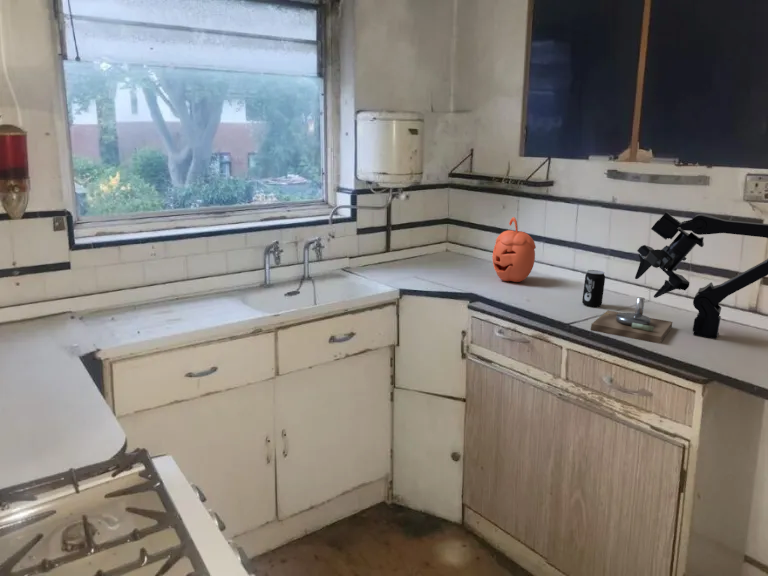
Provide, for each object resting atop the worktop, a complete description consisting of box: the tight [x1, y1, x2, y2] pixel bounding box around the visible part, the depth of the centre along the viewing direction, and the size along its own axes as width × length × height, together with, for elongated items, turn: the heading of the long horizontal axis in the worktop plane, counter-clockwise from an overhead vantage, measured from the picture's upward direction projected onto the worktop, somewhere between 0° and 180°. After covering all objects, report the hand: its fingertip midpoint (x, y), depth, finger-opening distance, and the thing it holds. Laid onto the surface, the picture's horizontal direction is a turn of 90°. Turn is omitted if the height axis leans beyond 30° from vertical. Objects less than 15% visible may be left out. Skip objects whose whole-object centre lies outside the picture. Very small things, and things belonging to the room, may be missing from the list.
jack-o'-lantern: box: [491, 216, 537, 283], centre depth 266 cm, size 18×17×25 cm
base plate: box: [590, 310, 673, 344], centre depth 210 cm, size 20×20×4 cm
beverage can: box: [582, 269, 606, 308], centre depth 235 cm, size 7×7×12 cm
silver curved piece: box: [616, 296, 651, 326], centre depth 211 cm, size 14×10×6 cm
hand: (645, 287), depth 214 cm, fingers open, 9 cm apart
